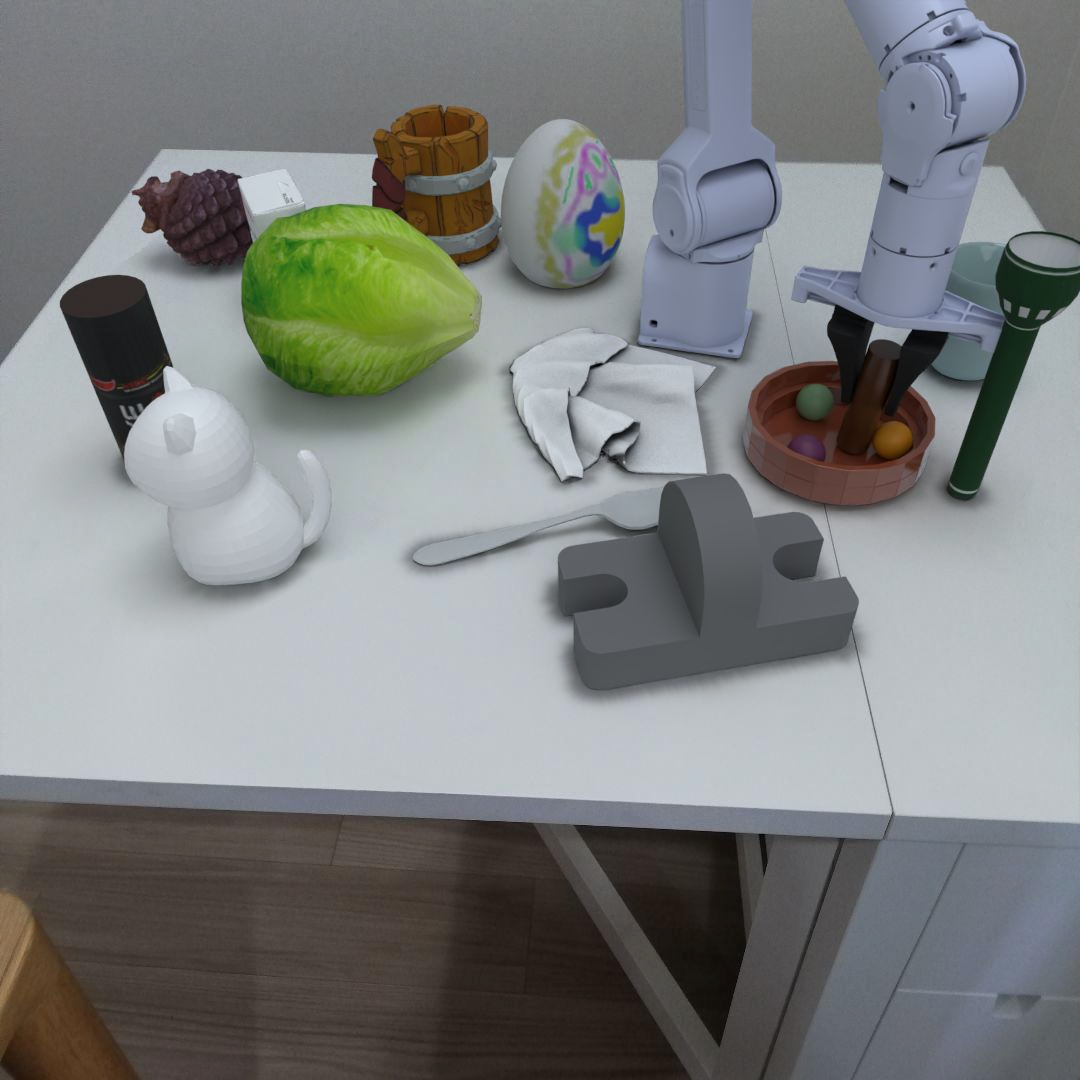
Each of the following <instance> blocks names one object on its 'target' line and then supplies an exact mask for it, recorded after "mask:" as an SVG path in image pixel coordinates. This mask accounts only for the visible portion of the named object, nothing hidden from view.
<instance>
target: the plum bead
mask: <svg viewBox="0 0 1080 1080" xmlns="http://www.w3.org/2000/svg"><path fill="white" fill-rule="evenodd" d="M787 448H789V449H790V450H792V451H794V452H796V453H799V454H801V455H804V456H807V457H809V458H812V459H815V460H817V461H822V462H824V461H825V458H826V450H825V446H824V444H823V443H822V441H821V440H820V439H818V438H817V437H815V436H813V435H807V434H806V435H800V436H797V437H795V438H794V439H793V440H792V441H791V442H790V443H789V444H788V446H787Z"/></svg>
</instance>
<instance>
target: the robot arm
mask: <svg viewBox="0 0 1080 1080" xmlns="http://www.w3.org/2000/svg"><path fill="white" fill-rule="evenodd" d="M843 2H844V4H845V6H846V8H847V10H848V12H849V14H850V16H851V18H852V20H853V22H854V24H855V26H856V28H857V30H858V33H859V34H860V36H861V38H862V41H863V42H864V44H865V47H866V48H867V50H868V52H869V54H870V56H871V58H872V60H873V62H874V64H875V66H876V68H877V70H878V72H879V74H880V77H881V78H882V80H883V83H884V84H885V87H884V88H880V89H879V91H878V94H877V95H878V97H877V116H878V122H879V126H880V130H881V133H882V140H883V141H882V148H881V153H880V157H879V162H881V170H882V172H883V174H882V178H881V182H880V187H879V192H878V194H877V195H878V196H877V200H876V204H875V209H874V214H873V219H872V222H871V226H870V230H869V236H868V240H867V244H866V247H865V248H866V249H865V252H864V258H863V261H862V266H861V271H858V270H857V271H856V270H855V271H854V270H844V269H843V270H842V269H829V268H820V267H814V266H810V265H803V266H802V267H801V269H799V271H798V272H797V274H796V275H795V276H794V280H793V287H792V292H791V298H790V300H791V301H792V302H793V301H794V302H797V303H801V304H805V303H807V302H808V301H810V302H815V303H819V304H822V305H826V306H830V307H834V309H833V312H832V314H831V318H830V319H829V321H828V322H827V325H826V336H827V338H828V339H829V342H830V344H831V346H832V349H833V352H834V355H835V357H836V361H837V362H838V367H839V372H840V380H841V402H843V403H847V404H850V401H851V397H852V394H853V390H854V387H855V384H856V381H857V378H858V375H859V372H860V370H861V367H862V364H863V361H864V358H865V355H866V352H867V350H868V347H869V344H870V340H871V336H872V332H873V330H874V326H875V324H876V325H877V324H878V325H880V326H884V327H889V328H895V329H902V330H903V329H905V330H910V332H909V333H908V335H907V337H906V338H905V340H904V341H903V343H902V345H901V346H902V347H901V350H900V357H899V363H898V368H897V373H896V377H895V381H894V385H893V388H892V390H891V393H890V396H889V398H888V401H887V404H886V407H885V411H884V415H887V416H890V417H894V415H895V413H896V411H897V410H898V408H899V406H900V404H901V401H902V399H903V396H904V394H905V393H906V391H907V390H908V389H909V387H910V386H911V387H912V385H913V384H914V382H915V381H916V380H917V379H918V378H919V377H920V376H921V375H922V374H923V373H924V372H925V371H926V370H927V369H928V368H929V367H931V366H932V365H931V364H932V363H933V362H934V360H935V359H936V358H937V357H938V356H939V354H940V353H941V351H942V349H943V347H944V345H945V343H946V342H947V340H948V338H949V337H953V338H957V339H961V340H965V341H969V342H972V343H976V344H980V346H979V348H980V349H981V350H983V351H987V352H990V353H994V351H995V348H996V346H997V343H998V340H999V337H1000V334H1001V331H1002V326H1003V323H1004V321H1005V316H1004V314H1001V313H997V312H994V311H991V310H988V309H986V308H984V307H981V306H979V305H977V304H974V303H972V302H970V301H968V300H966V299H963V298H961V297H959V296H957V295H954V294H952V293H950V292H948V291H945V289H946V286H947V282H948V279H949V276H950V272H951V269H952V265H953V262H954V259H955V255H956V252H957V249H958V245H959V244H960V242H961V239H962V236H963V232H964V229H965V225H966V222H967V219H968V215H969V212H970V209H971V205H972V201H973V199H974V195H975V191H976V188H977V185H978V182H979V178H980V175H981V171H982V168H983V165H984V161H985V157H986V155H987V152H988V151H987V150H988V147H989V144H990V142H991V138H990V137H989V136H991V135H994V134H996V133H998V132H1000V131H1002V130H1004V129H1005V128H1006V127H1008V125H1010V124H1011V123H1012V122H1013V120H1014V119H1015V118H1016V116H1017V115H1018V113H1019V112H1020V110H1021V108H1022V105H1023V102H1024V100H1025V95H1026V89H1027V74H1026V68H1025V64H1024V60H1023V58H1022V57H1021V52H1020V47H1019V45H1018V44H1017V42H1016V41H1015V40H1014V39H1013V38H1012V37H1010V36H1008V35H1007V34H1004V33H1002V32H999V31H995V30H991V28H989V27H988V26H987V25H986V23H985V21H984V20H980V19H978V18H976V16H975V15H974V12H973V11H971V9H970V8H969V5H968V4H967V1H966V0H843ZM680 22H681V42H682V45H681V47H682V49H681V50H682V51H681V52H682V74H683V75H682V76H683V100H684V101H683V104H684V105H683V106H684V129H683V130H682V131H681V133H680V134H679V135H678V137H676V139H675V140H674V141H673V142H672V143H671V144H670V145H669V146H668V148H666V150H665V151H664V152H663V153H662V155H661V156H660V157H659V158H658V160H657V162H656V167H657V182H656V188H655V191H654V194H653V195H654V196H653V200H652V218H653V223H654V227H655V231H656V233H657V234H653V235H652V236H651V237H650V240H649V243H648V246H647V249H646V254H645V259H644V265H643V272H642V283H641V284H642V285H641V300H640V323H639V324H640V325H639V334H638V338H637V343H638V344H639V345H641V346H645V347H646V346H648V347H654V348H660V349H666V350H667V349H668V350H675V351H681V352H688V353H696V354H703V355H710V356H716V357H724V358H731V359H740V358H741V357H742V354H743V350H744V347H745V343H746V340H747V336H748V333H749V330H750V326H751V323H752V319H753V315H754V313H753V310H751V309H748V308H747V305H748V298H749V292H750V291H749V289H750V282H751V276H752V268H753V260H754V254H755V247H756V246H757V245H759V244H760V243H762V242H763V238H764V231H765V230H767V229H769V228H770V227H772V226H773V225H774V224H775V223H776V222H777V220H778V218H779V216H780V213H781V210H782V205H783V188H782V187H783V186H782V182H781V179H780V177H779V174H778V169H777V162H776V145H775V143H774V142H773V141H772V140H771V139H770V138H769V137H768V136H766V135H765V134H763V133H762V132H761V131H760V130H758V129H757V128H756V127H755V126H754V125H753V78H752V77H753V55H752V54H753V24H752V23H753V0H680Z"/></svg>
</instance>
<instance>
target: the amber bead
mask: <svg viewBox="0 0 1080 1080" xmlns="http://www.w3.org/2000/svg"><path fill="white" fill-rule="evenodd" d="M872 444H873V448H874V450H875V452H876V453H877V454H878V455H879V456H881V457H882V458H884V459H888V460H896V459H900V458H902V457H903V456H905V455H906V454H907V453H908V452H909V451H910V450H911V448H912V445H913V435H912V432H911V430H910V429H909V428H908V427H907V426H906V425H905V424H903V423H901V422H897V421H889V422H886V423H884V424H882V425H880V426H879V427H878V428H877V429H876V431H875V434H874V436H873V439H872Z"/></svg>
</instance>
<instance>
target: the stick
mask: <svg viewBox="0 0 1080 1080" xmlns="http://www.w3.org/2000/svg"><path fill="white" fill-rule="evenodd" d="M901 347H902V345H901V344H899V343H898V342H896V341H893V340H890V339H886V338H880V339H879V338H878V339H874V340H872V341H871V342H869V343H868V346H867V350H866V355H865V358H864V361H863V364H862V367H861V370H860V372H859V375H858V378H857V381H856V384H855V387H854V390H853V394H852V397H851V401H850V404H848V407H847V410H846V412H845V415H844V418H843V421H842V424H841V427H840V430H839V432H838V435H837V438H836V442H837V445H838V446H839V447H840V448H841V449H842V450H844V451H846V452H848V453H852V454H861V453H864V452H866V451H867V450H868V449H869V447H870V444H871V441H872V439H873V436H874V434H875V431H876V428H877V426H878V423H879V421H880V418H881V415H882V413H883V410H884V408H885V405H886V402H887V400H888V397H889V395H890V392H891V389H892V387H893V384H894V381H895V377H896V373H897V368H898V363H899V357H900V350H901Z"/></svg>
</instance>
